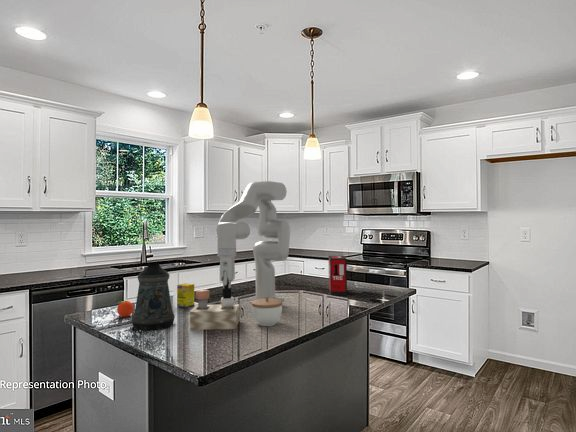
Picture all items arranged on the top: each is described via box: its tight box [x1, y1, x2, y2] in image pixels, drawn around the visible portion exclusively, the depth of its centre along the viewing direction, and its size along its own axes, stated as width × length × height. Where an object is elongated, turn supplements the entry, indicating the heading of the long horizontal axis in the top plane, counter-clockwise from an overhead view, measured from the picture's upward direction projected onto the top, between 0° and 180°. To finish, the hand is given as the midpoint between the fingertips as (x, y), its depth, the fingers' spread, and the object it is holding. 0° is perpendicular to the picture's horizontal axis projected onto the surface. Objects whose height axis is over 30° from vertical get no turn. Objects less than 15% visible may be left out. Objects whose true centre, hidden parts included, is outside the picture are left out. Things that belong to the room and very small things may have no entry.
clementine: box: [116, 300, 135, 318], centre depth 177 cm, size 8×7×7 cm
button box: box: [189, 303, 240, 331], centre depth 162 cm, size 18×12×7 cm, turn 91°
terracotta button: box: [195, 289, 210, 310], centre depth 162 cm, size 5×5×9 cm
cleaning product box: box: [328, 255, 348, 296], centre depth 228 cm, size 16×9×20 cm, turn 178°
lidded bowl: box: [251, 297, 283, 327], centre depth 163 cm, size 13×13×11 cm
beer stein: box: [131, 262, 175, 332], centre depth 163 cm, size 16×19×25 cm
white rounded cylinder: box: [220, 296, 235, 309], centre depth 162 cm, size 5×5×9 cm
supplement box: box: [176, 282, 195, 309], centre depth 195 cm, size 6×6×11 cm
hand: (227, 297), depth 162 cm, fingers closed
